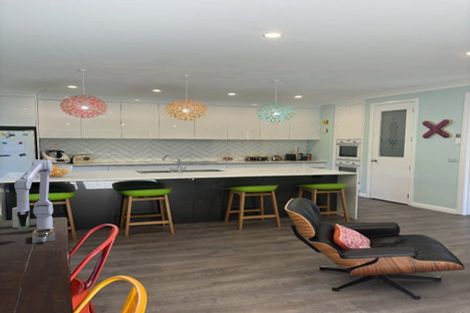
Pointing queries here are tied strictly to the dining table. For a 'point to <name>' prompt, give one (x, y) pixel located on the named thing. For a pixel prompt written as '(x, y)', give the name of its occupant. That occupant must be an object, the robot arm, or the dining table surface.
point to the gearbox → (43, 235)
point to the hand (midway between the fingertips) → (23, 225)
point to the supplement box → (15, 217)
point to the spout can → (23, 226)
